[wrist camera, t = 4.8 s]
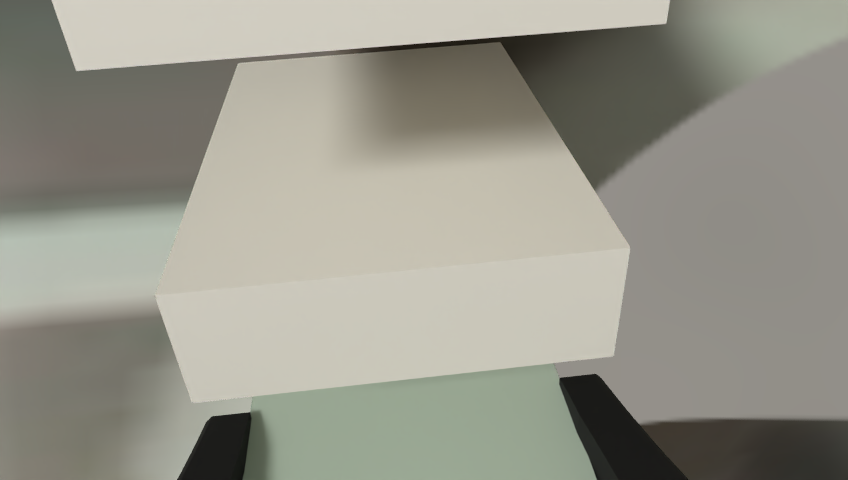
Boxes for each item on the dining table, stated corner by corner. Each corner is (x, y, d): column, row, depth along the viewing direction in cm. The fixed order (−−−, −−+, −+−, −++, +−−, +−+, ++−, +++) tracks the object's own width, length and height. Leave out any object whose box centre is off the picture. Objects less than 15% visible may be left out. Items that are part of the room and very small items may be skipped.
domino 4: (499, 119, 14) (613, 356, 8) (253, 140, 14) (192, 403, 8) (500, 42, 13) (630, 247, 7) (238, 63, 13) (155, 295, 7)
